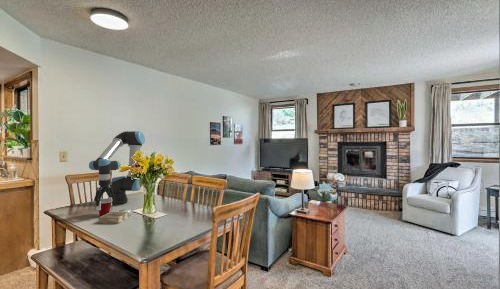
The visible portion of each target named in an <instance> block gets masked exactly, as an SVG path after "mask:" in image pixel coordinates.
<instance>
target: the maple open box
mask: <svg viewBox="0 0 500 289" xmlns="http://www.w3.org/2000/svg"><path fill="white" fill-rule="evenodd" d="M127 219H130V216H129V212H119V211H109V213H108V214H105V215H103V216H101V217H100V216H99V217H98V218H97V220H98V224H101V225H104V224H107V225H110V224H111V225H114V224H115V225H119V224H120V223H123V222H125V221H126V220H127Z"/></svg>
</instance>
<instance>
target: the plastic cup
mask: <svg viewBox="0 0 500 289" xmlns="http://www.w3.org/2000/svg"><path fill="white" fill-rule="evenodd" d="M100 201H101V210H98V213H99V217H101V216H103V215H105V214H108V213H110V212H111V207H112V206H111V203H112V201H113V200H112V199H108V198H101V199H100Z"/></svg>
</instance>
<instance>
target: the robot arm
mask: <svg viewBox="0 0 500 289" xmlns="http://www.w3.org/2000/svg"><path fill="white" fill-rule="evenodd" d="M145 142H146V137H145V134H144V133H143V132H142V131H139V130H138V131H137V130H135V131H133V130H132V131H130V130H129V131H122V132H120V133H119V134H117V135H115V137H113V138H112V142H111V143H110V144H109V145H108V146H107V147H106V148H105V149H104V150H103V152H102V153H101V154H100V155H99V156H98V157H97V158H96V159H95V160H91V161H90V162H89V164H88V168H89V170H91V171H98V185H99V187H97V188H96V191H95V195H94V197H93V201H94V202H95V205H96V211H99V210H101V201H100V199H102V197H103V196H104V194H105V193H106V195H107V199H112V200H113V201H112V203H111V207H112V206H113V205H121V204H125V203H128V200H129V199H128V196H127V193H126V192H138V191H140V190H141V188H142V187H139V179H133V180H131V173H130V171H128V172H127V175H126V176H125V175H122V176H121V175H120V176H115V177H112V178H111V172H113V171H116V170H119V169H120V168H121V167H120V166H121V165H122V164H121V162H120V161H119V160H111V158H112V157H113V156H114V155H115V153H116V152H117V151H118V150H119V149H120V148H121V147H124V145H127V146H128V148H129V155H128V156H129V157H128V166H129V165H132V164H134V163H135V161H134V160H133V159H132V158H131V156H133V155H134V154H135V152H136V151H137V150H139V151H140V152H141V148H142V146H143V145H144V144H145ZM119 167H120V168H119Z"/></svg>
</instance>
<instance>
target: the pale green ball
mask: <svg viewBox="0 0 500 289" xmlns="http://www.w3.org/2000/svg"><path fill="white" fill-rule="evenodd" d="M118 212H129V217H130V216H132V209H130V208H125V209H121V210H119V211H118Z"/></svg>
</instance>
